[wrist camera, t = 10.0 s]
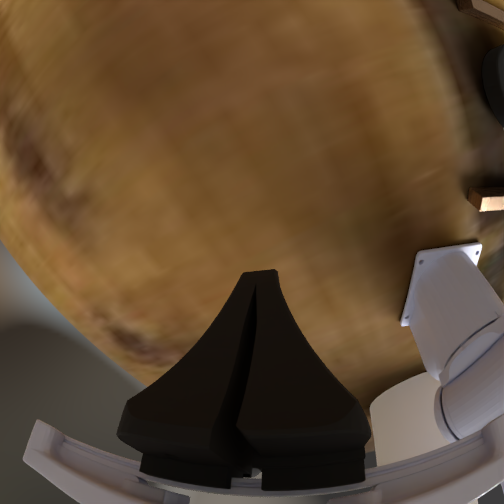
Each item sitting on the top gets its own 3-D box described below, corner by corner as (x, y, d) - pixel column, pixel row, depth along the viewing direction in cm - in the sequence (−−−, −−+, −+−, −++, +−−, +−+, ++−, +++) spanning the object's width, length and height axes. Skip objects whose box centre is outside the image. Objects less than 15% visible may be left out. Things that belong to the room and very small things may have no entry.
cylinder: (433, 404, 40) (452, 516, 17) (359, 420, 42) (367, 546, 19) (472, 358, 30) (510, 500, 7) (386, 379, 32) (407, 555, 9)
